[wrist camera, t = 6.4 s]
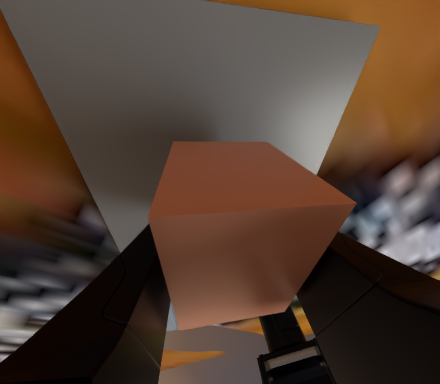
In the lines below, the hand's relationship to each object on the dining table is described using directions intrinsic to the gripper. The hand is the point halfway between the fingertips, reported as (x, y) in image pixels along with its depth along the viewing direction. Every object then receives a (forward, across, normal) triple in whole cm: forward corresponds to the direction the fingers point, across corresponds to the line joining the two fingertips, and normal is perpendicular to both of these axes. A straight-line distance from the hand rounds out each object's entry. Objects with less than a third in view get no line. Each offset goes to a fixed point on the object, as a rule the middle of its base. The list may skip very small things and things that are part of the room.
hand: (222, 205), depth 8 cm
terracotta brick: (+1, 0, 0) cm, 1 cm away
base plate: (+4, 0, 0) cm, 4 cm away
